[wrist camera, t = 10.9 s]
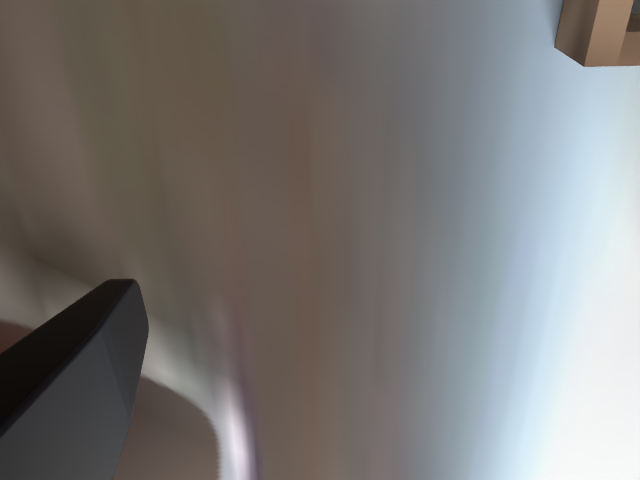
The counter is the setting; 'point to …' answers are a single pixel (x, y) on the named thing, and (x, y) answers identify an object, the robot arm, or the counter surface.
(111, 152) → the counter surface
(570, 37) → the walnut holder
